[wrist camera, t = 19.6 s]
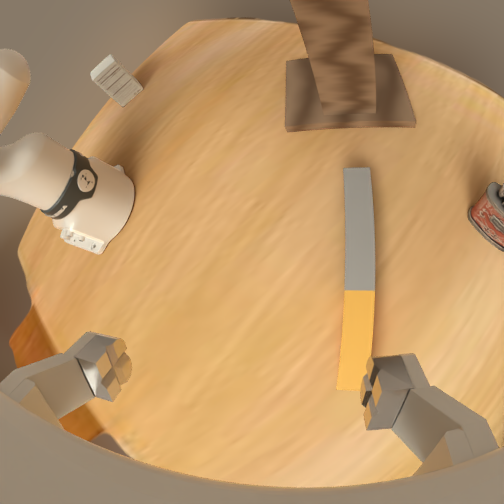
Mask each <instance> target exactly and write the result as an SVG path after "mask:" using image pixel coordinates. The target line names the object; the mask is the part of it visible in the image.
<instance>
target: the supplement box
mask: <svg viewBox="0 0 504 504" xmlns="http://www.w3.org/2000/svg"><path fill="white" fill-rule="evenodd" d="M90 74H91V77H92V81H93V82H95V83H96V84H97V85H98V86H99V87H100V88H101V89H102V90H104V91H105V92H106V93H107V94H108V95H109V96H110V97H112V98H113V99H114V100H115V101H116V102H117V103H118V104H120V105H121V106H122V107H124V106H125V105H126V104H127V103H128V102H130V101H131V100H132V99H133V98H134V97H135V96H136V95H138V94H139V93H140V92H141V91H142V90H143V87H142V86H141V84H140V83H139V81H138V80H137V79H136V78H135V77H134V76H133V75H132V74H131V73H130V72H129V71H128V70H127V69H126V68H125V67H124V66H123V65H122V64H121V63H120V62H119V61H118V60H117V59H116V58H115V57H114V56H112V54H110V55H109V56H107V57H106V58H105V59H104V60H103V61H102V62H101V63H100V64H99V65H98V66H97V67H96V68H95V69H93V70H92V71H91V73H90Z"/></svg>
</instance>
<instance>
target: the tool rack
mask: <svg viewBox="0 0 504 504" xmlns="http://www.w3.org/2000/svg"><path fill="white" fill-rule="evenodd" d="M290 2H291V5H292V8H293V11H294V14H295V16H296V19H297V22H298V25H299V28H300V31H301V34H302V37H303V41H304V44H305V47H306V50H307V54H308V57H309V58H305V59H297V60H290V61H286V107H285V128H286V130H287V132H295V131H306V130H319V129H334V128H356V127H415V124H416V120H415V116H414V113H413V110H412V106H411V103H410V100H409V97H408V94H407V91H406V89H405V86H404V83H403V80H402V77H401V75H400V72H399V70H398V67H397V65H396V62H395V60H394V57H393V55H392V54H374V47H373V36H372V27H371V18H370V11H369V4H368V0H290Z"/></svg>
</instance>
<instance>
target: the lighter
mask: <svg viewBox="0 0 504 504" xmlns="http://www.w3.org/2000/svg"><path fill="white" fill-rule="evenodd" d="M468 220H469V221H470V223H471V224H472V225H473V226H474V228H475V229H476V230H477V231H478V232H479V233H480V234H481V235H482V236H483V237H484V238H485V239H486V240H487V241H488V242H489V243H491V244H492V245H493V246H495V247H496V248H498V249H499V250H501V251H503V252H504V183H503V185H502V186H501V185H499V184H498V183H495V182H492V183H491V184H490V185H489V186H488V187H487V189H486V192H485V193H484V195H483V196H482V197H481V198H480V200H479V201H478V202H477V203H476V204H475V205H474V206H472V207H471V208H470V210H469V211H468Z"/></svg>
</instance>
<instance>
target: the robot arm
mask: <svg viewBox="0 0 504 504" xmlns="http://www.w3.org/2000/svg"><path fill="white" fill-rule="evenodd" d="M30 77H31V76H30V69H29V66H28V63H27V61H26V60H25V58H24V57H23V56H22V55H21V54H20V53H18V52H16V51H14V50H11V49H0V135H1V134H2V132H3V130H4V128H5V127H6V125H7V124H8V122H9V121H10V119H11V118H12V116H13V115H14V113H15V112H16V110H17V108H18V106H19V104H20V102H21V100H22V98H23V96H24V94H25V92H26V90H27V88H28V86H29V84H30V81H31V80H30ZM0 195H2V196H7V197H11V198H15V199H17V200H20V201H23V202H25V203H28V204H30V205H32V206H35V207H37V208H40V210H41V211H42V212H43V213H44V214H45V215H46V216H48V217H51V218H52V219H53V225H54V227H55V228H58V229H60V230H62V232H61V235H60V238H63V239H64V241H65V242H66V243H68V244H71V245H74V246H76V247H79V248H82V249H84V250H87V251H90V252H93V253H96V254H101V253H102V252H103V251H104V249H105V248H106V246H107V244H108V243H109V241H110V240H111V239H112V238H114V237H115V236H116V235H117V234H118V233H119V231H120V230H121V229H122V228H123V226H124V225H125V223H126V221H127V219H128V217H129V215H130V212H131V209H132V206H133V202H134V186H133V183H132V181H131V179H130V178H129V177H127V176H126V175H125V173H124V169H123V167H122V166H120V165H116V166H114V167H113V166H111V165H109V164H107V163H105V162H103V161H101V160H100V159H98V158H96V157H90V158H86V157H85V156H83V155H82V154H81V153H79V152H77V151H75V150H73V149H70V150H69V149H67V148H66V147H64V146H62V145H61V144H59V143H58V142H56V141H54V140H53V139H52V138H50V137H48V136H47V135H45V134H44V133H30V134H28V135H25V136H24V137H22V138H21V139H19V140H18V141H17V142H15V143H13V144H11V145H8V146H0ZM126 349H127V347H126V345H125V342H124V340H122V339H121V338H117V337H112V336H108V335H104V334H98V333H95V332H91V331H90V332H86V333H85V334H84V335H83V336H82V337H81V338H80V339H79V340H78V341H77V342H76V343H74V344H73V345H72V346H71V347H70V348H69V349H68V350H67V351H66V352H65V353H64V354H62V353H60V354H57V355H55V356H52V357H49V358H46V359H43V360H41V361H38V362H35V363H32V364H30V365H27V366H24V367H21V368H18V369H15V370H13V371H12V372H11V373H10V374H9V375H8V376H7V377H6V378H5V379H4V380H3V381H2V382H1V383H0V504H504V446H503V447H501V448H499V447H498V445H497V442H496V440H495V438H494V436H493V433H492V431H491V429H490V427H489V425H488V423H487V421H486V419H485V418H483V417H482V416H480V415H478V414H477V413H475V412H474V411H472V410H471V409H469V408H468V407H466V406H464V405H463V404H461V403H460V402H458V401H457V400H455V399H454V398H452V397H451V396H449V395H448V394H446V393H444V392H443V391H441V390H440V389H438V388H437V387H435V386H430V385H429V383H428V380H427V378H426V376H425V374H424V372H423V370H422V368H421V366H420V364H419V362H418V359H417V357H416V355H415V354H413V353H409V354H400V355H392V356H376V357H369V359H368V360H367V364H366V370H367V374H366V375H365V376H363V379H362V383H361V391H360V395H361V403H362V405H363V406H364V407H365V408H366V409H365V412H364V420H365V426H366V430H378V429H389V428H392V429H391V430H392V431H393V432H394V433H395V434H396V435H397V436H398V437H399V438H400V439H401V440H402V441H403V442H404V443H405V444H406V445H407V446H408V448H409V449H410V450H411V451H412V452H413V453H414V454H415V455H416V456H417V457H418V458H419V459H420V460H421V461H422V462H423V464H422V465H421V466H420V467H419V469H418V470H417V471H416V472H415V473H414V475H413V476H411V477H407V478H402V479H396V480H391V481H384V482H378V483H370V484H362V485H352V486H340V487H317V488H295V487H271V486H258V485H248V484H240V483H232V482H225V481H219V480H213V479H208V478H202V477H197V476H193V475H188V474H184V473H179V472H175V471H171V470H168V469H164V468H160V467H157V466H153V465H150V464H147V463H144V462H140V461H137V460H134V459H131V458H129V457H126V456H123V455H120V454H117V453H115V452H112V451H109V450H107V449H104V448H102V447H100V446H97V445H95V444H93V443H91V442H88V441H86V440H84V439H82V438H80V437H77V436H75V435H73V434H71V433H69V432H67V431H65V430H64V429H63V426H62V425H61V423H60V422H59V421H58V419H59V418H61V417H63V416H64V415H66V414H68V413H70V412H71V411H73V410H75V409H76V408H78V407H80V406H81V405H83V404H85V403H86V402H88V401H90V400H91V399H93V398H94V396H95V397H98V398H101V399H104V400H108V401H111V402H113V401H114V400H115V398H116V397H117V395H118V394H119V393H120V391H121V385H122V384H124V383H126V382H127V381H128V379H129V378H130V376H131V372H132V363H131V360H130V358H129V356H128V355H127V354H126V353H125V351H126Z"/></svg>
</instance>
